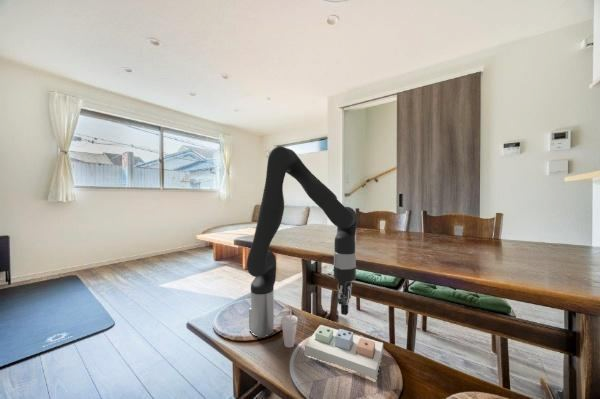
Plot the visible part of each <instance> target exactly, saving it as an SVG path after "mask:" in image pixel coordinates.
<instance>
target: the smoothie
mask: <svg viewBox="0 0 600 399" xmlns="http://www.w3.org/2000/svg"><path fill="white" fill-rule="evenodd" d="M292 311H293V310H292V307H289V314H286V315H283V316H282V317H281V319H280V324H281V329H282V336H283V343H284V344H283V345H284V347H285V348H288V349H291V348H292V347H294V346H295V340H296V335H297V334H296V332H297V325H298V323H299V321H298V317H297V316H295V315H294V314H292Z"/></svg>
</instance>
